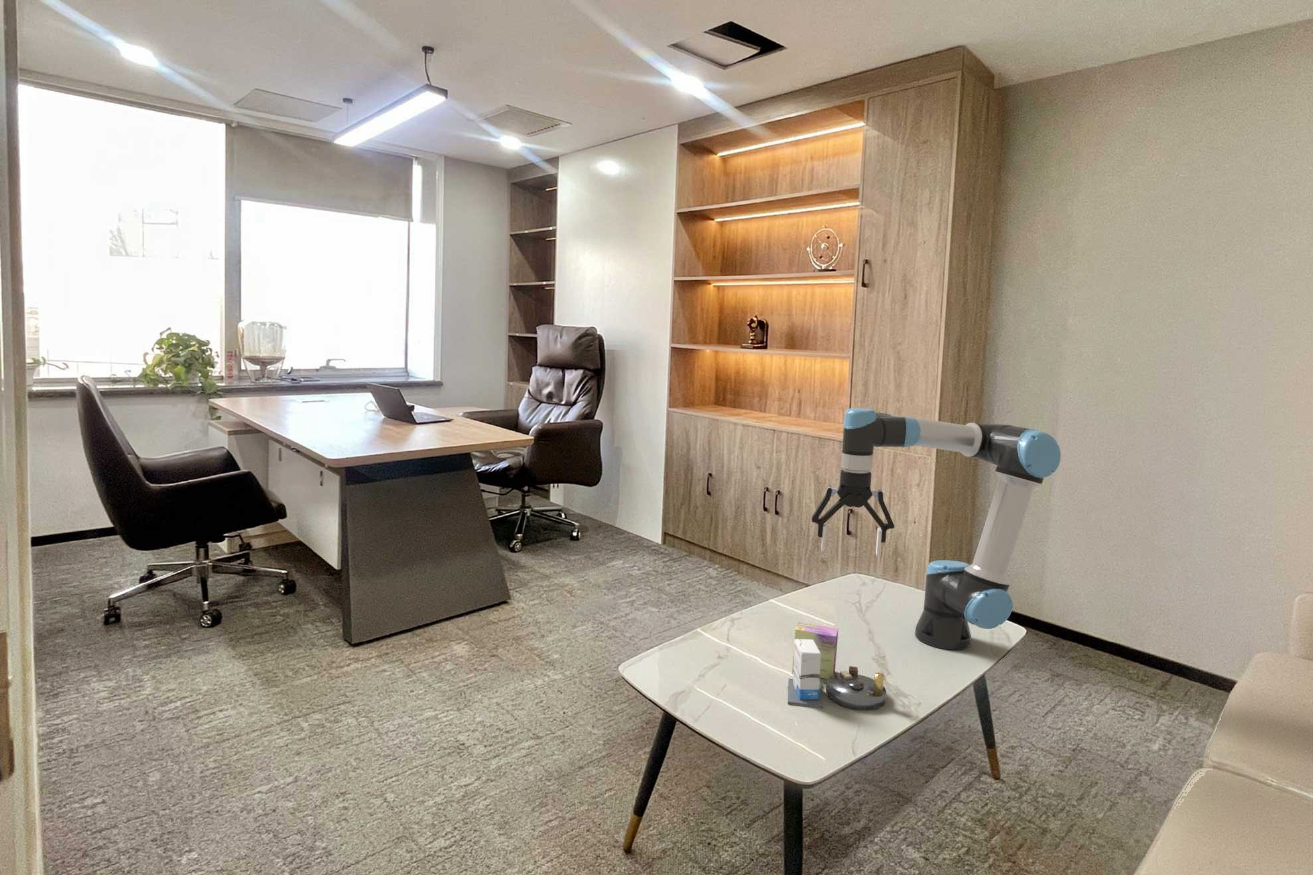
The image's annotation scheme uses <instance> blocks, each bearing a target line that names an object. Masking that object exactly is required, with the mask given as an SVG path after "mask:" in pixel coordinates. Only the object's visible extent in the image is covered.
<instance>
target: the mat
mask: <svg viewBox="0 0 1313 875" xmlns="http://www.w3.org/2000/svg"><path fill="white" fill-rule="evenodd" d="M787 683H788V684H787V688H788V689H787V705H795V706H802V707H810V708H817V709H823V708H824V707H823V706H824V704H823V693H822V692H823V689H822V682H821V681H820V683H819V699H816V700H800V699H799V697H798V694H797V692H796V689H795V687H794V684H793V678H788V682H787Z"/></svg>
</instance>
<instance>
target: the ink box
mask: <svg viewBox="0 0 1313 875" xmlns="http://www.w3.org/2000/svg"><path fill="white" fill-rule="evenodd" d="M793 654H794V671H793V672H792V673H793V676H792V679H793V684H794V687H795V689H796V692H797V694H798V697H799V699H800V700H816V699H819V683H820V682H821V681H820V679H821V678H820V662H821V653H820V651H819V649H818V648H817V646H816V644H815V642H814V640H813V639H795V638H794V641H793Z"/></svg>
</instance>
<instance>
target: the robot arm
mask: <svg viewBox="0 0 1313 875" xmlns="http://www.w3.org/2000/svg"><path fill="white" fill-rule="evenodd" d="M842 428H843V432H842V434H843V435H842V451H841V459H840V460H841V462H840V467H841V470H840V473H839V474H840V477H839V486H838V488H835V487H832V486H827V487H826V491H825V494H824V497H823V498H822V500H821V501H820V503H819V504H818V506H817V508H816V509H815V511H814V513H813V515H812V516H811V522H812V523H813V524H814V523H815V524H817V525H818V526H817V537H818V538H821V548H820V549H821V552H825V550H826V535H827V534H826V533H827V524H826V522H828V521H829V520H830V519H831V518H832V517H833V516H834V515H835V514H836V513H837V512H838V511H839V510H840V509H842V508H843V507H844V506H846V507H848V508H852V507H855V508H858V509H859V508H862V507H864V508H865V510H866V511H867V512H868V513H869V514H870V516H871V517H872V519H874V521H875V522H876V523H877V525H878V526H879V527H877V533H876V544H875V545H876V546H875V555H876V556H877V557H878V556H879V557H880V556H881V548H882V547H881V546H882V543H886V539H887V531H888V530H892V529H894V528H895V524H894V522H893V519H892V517H891V515H890V512H889V510H888V508H887V506H886V503H885V501H884V492H883V491H882V490H881V489H878V490H871V489H872V488H871V487H872V486H871V485H872V473H871V471H872V470H873V459H874V448H878V447H880V448H882V447H886V448H888V447H889V448H892V447H893V448H897V447H898V448H902V449H903V448H907V447H909V448H910V447H914V446H915V447H922V448H929V449H937V450H941V451H942V450H943V451H950V452H957V453H961V454H962V456H964V457H967V458H974V459H977V460H981V461H983V462H987V463H990V464H992V465H995V466H996V468H995V471H994V473H995V475H996V476H997V479H998V482H997V486H996V488H995V491H994V493H993V497H992V500H991V504H990V508H989V510H988V513H987V516H986V519H985V524H984V526H983V529H982V533H981V536H980V538H979V540H978V541H979V542H978V545H977V548H976V551H975V554H974V558H973V561H972V563H971V564H969V563H967V562H963V561H959V560H958V561H957V560H949V559H947V560H943V559H942V560H933V561H931V562H930V563H928V565H927V569H926V573H925V575H926V577H925V589H924V590H925V591H924V601H923V611H922V612H921V615H920V617H919V619H918V621H917V623H916V625H915V628H914V629H915V630H914V633H915V634H914V636H915V637H916V639H917V640H918V641H919V642H920V641H921V642H922V643H923V644H926V645H929V646H931V647H935V648H939V649H945V650H954V651H956V650H964V649H967V648H969V647H970V646H971V644H972V635H971V630H970V626H969V624H970V625H974V626H976V627H977V628H980V629H984V630H990V629H991V630H992V629H996V628H998V627H999V626H1000V625H1002V624H1004V623H1005V622H1006V621H1008V619H1009V618H1010V616H1011V613H1012V612H1013V606H1014V602H1013V600H1012V596H1011V595H1010V594H1009V593H1008V591H1009V588H1010V584H1011V582H1010V580H1009V578H1008V577H1007V572H1008V569H1009V566H1010V564H1011V560H1012V558H1013V554H1014V552H1015V547H1016V545H1017V542H1018V540H1019V535H1020V533H1021V529H1022V528H1023V527H1022V526H1023V523H1024V519H1025V516H1026V513H1027V510H1028V508H1029V505H1030V501H1031V499H1032V496H1033V492H1034V490H1035V489H1036V488H1038V487H1039V488H1040V487H1041V486H1042V484H1043V482H1044V479H1045V478H1047V477H1050V476H1052V474H1053V473H1055V472H1056V471H1057V470H1058V468H1059V466H1060V462H1061V457H1062V455H1061V449H1060V448H1061V447H1060V445H1059V444H1058V442H1057V440H1056V439H1055V437H1053V436H1052V435H1051V434H1049V433H1047V432H1044V431H1041V430H1039V429H1035V428H1034V429H1033V428H1026V427H1021V426H1015V425H1010V424H1000V423H999V424H998V423H997V424H996V423H995V424H994V423H993V424H992V423H991V424H990V423H976V422H968V423H966V424H959V423H952V422H946V421H938V420H932V419H925V418H919V417H918V418H917V417H911V416H906V415H897V414H891V413H890V414H889V413H884V412H877V411H875V410H874V409H871V408H858V407H855V408H854V407H853V408H852V407H851V408H848V409H847V410H846V411H845V415H844V420H843V427H842ZM835 494H837V495H838V497H839V499H837V501H836V502H835V503H834V504H833V505H832V506H831V508H829V509H828V510H827V511H826V512H825V513H824V514H823V515H822V516H821V514H822V513H823V511H824V510H825V508H826V506H827V505H828V503H829V501H830V500H831V497H834V496H835ZM872 497H874V499H875V500H876V501H878V502H877V503H878V504H879V506H880V508H881V511H882V513H883V515H884V518H885V520H886V522H887V523H885V522H884V521H883V520H882V519H881V517H880V515H878V513H877V512H876V511H875V509H874V508H873V507H872V505H871V504H870V502H869V500H870V499H871V498H872ZM820 516H821V517H820Z"/></svg>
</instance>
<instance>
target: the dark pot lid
mask: <svg viewBox="0 0 1313 875" xmlns="http://www.w3.org/2000/svg"><path fill="white" fill-rule="evenodd" d="M884 678H885V674H883V673H881V672H875V673H874V678H872V677H870V676H865V675H862V674H859V673H858V674H849V671H846V670H845V671H844V670H843V671H842V670H841V671H840V672H839V673H838V674H834V675H833V676H831V677H830V678H828V679H827V680H826V682H825V694H826V696H827V697H828V698H829V699H831V700H832V701H833V702H835V703H836V704H839V705H841V706H844V707H847V708H850V709H856V710H874V709H878V708H880V707H882V706H883V705H885V703H886V699H887V689H886V687H885V686H884V680H885V679H884Z"/></svg>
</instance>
